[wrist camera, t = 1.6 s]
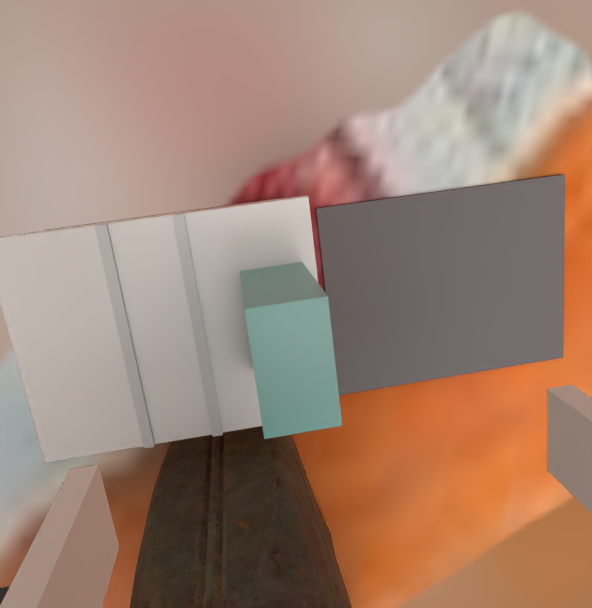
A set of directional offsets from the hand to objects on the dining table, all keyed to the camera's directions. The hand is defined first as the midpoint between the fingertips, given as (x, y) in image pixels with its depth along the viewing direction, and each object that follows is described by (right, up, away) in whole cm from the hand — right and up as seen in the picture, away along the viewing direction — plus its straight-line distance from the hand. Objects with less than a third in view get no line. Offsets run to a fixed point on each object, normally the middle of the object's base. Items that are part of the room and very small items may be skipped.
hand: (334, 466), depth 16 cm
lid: (-8, +3, +16) cm, 18 cm away
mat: (+10, +6, +25) cm, 27 cm away
